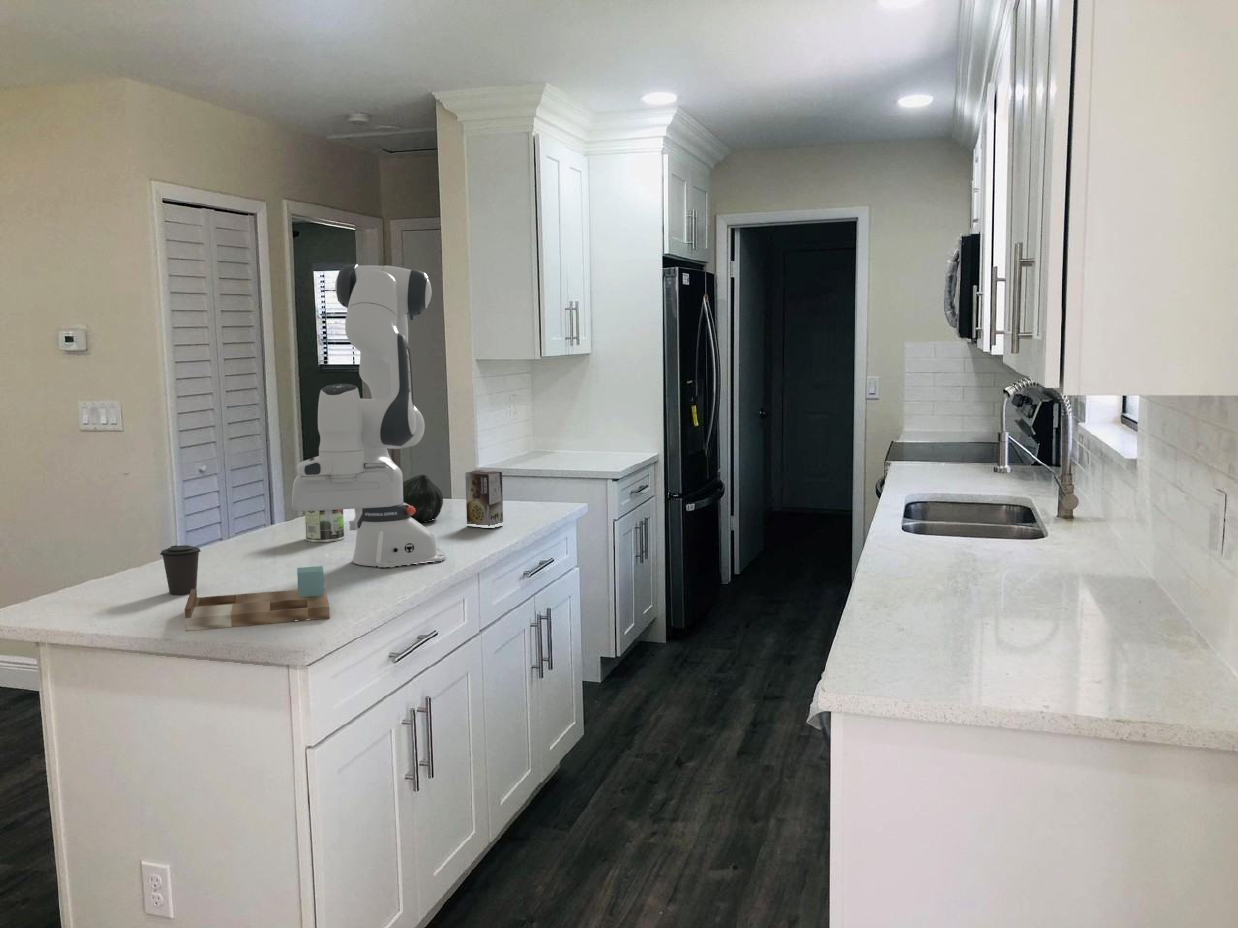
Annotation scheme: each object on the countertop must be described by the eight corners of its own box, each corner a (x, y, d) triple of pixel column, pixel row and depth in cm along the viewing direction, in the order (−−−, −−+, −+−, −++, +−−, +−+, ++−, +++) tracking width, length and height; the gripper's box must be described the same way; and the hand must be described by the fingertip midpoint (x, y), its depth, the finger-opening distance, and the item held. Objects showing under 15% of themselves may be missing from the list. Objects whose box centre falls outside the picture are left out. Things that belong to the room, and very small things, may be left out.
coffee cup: (173, 587, 223) (170, 542, 222) (209, 587, 223) (207, 543, 222) (155, 596, 215) (152, 550, 214) (193, 596, 215) (190, 550, 214)
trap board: (325, 598, 213) (325, 579, 213) (329, 618, 198) (328, 597, 198) (192, 609, 205) (191, 589, 205) (185, 630, 190) (184, 609, 190)
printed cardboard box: (504, 526, 296) (503, 471, 294) (489, 529, 290) (488, 474, 288) (480, 523, 301) (479, 469, 299) (465, 526, 295) (464, 471, 293)
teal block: (323, 589, 212) (322, 566, 211) (324, 595, 207) (323, 571, 206) (298, 591, 210) (297, 567, 209) (298, 597, 205) (297, 573, 205)
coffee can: (349, 535, 282) (347, 485, 281) (338, 542, 272) (336, 490, 270) (312, 535, 283) (310, 485, 281) (300, 542, 272) (298, 490, 271)
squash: (389, 498, 312) (393, 466, 301) (438, 498, 316) (443, 466, 305) (392, 535, 303) (396, 503, 292) (442, 534, 307) (448, 503, 296)
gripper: (391, 460, 214) (393, 524, 215) (289, 464, 207) (292, 530, 209) (395, 463, 208) (397, 530, 210) (290, 467, 201) (293, 536, 203)
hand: (344, 530), depth 209 cm, fingers open, 2 cm apart
